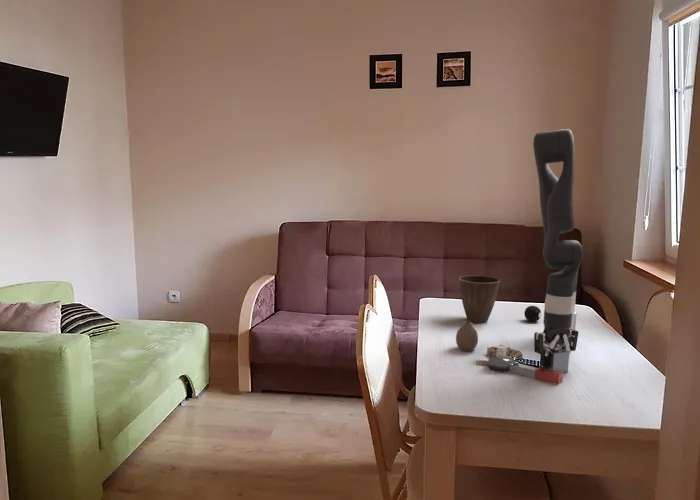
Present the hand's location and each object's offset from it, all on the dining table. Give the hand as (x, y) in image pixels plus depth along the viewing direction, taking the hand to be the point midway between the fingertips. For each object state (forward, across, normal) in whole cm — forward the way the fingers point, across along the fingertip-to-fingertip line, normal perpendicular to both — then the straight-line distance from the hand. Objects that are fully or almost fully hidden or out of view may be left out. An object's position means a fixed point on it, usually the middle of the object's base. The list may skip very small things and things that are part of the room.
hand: (553, 366), depth 165 cm
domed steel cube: (+1, 0, 0) cm, 1 cm away
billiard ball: (+1, -29, -46) cm, 54 cm away
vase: (+1, +14, -24) cm, 28 cm away
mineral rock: (+2, +7, -14) cm, 16 cm away
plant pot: (+1, -9, -53) cm, 54 cm away
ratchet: (+1, +11, 0) cm, 11 cm away
